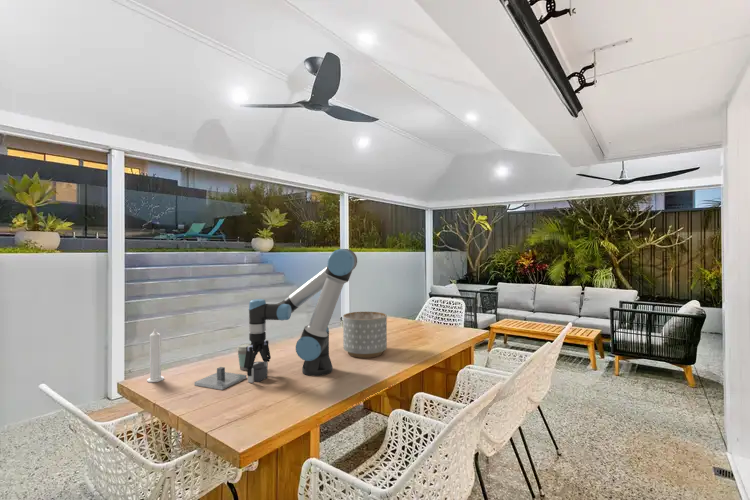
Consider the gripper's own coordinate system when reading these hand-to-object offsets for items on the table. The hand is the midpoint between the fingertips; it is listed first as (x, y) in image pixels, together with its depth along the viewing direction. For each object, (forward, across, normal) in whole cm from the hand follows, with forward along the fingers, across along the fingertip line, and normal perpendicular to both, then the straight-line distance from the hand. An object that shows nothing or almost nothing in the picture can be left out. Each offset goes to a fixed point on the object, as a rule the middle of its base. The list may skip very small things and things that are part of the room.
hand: (257, 378), depth 187 cm
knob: (0, 0, 0) cm, 0 cm away
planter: (0, -59, +31) cm, 67 cm away
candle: (0, +18, -45) cm, 48 cm away
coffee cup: (0, -11, -16) cm, 19 cm away
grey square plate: (0, +9, -14) cm, 17 cm away
